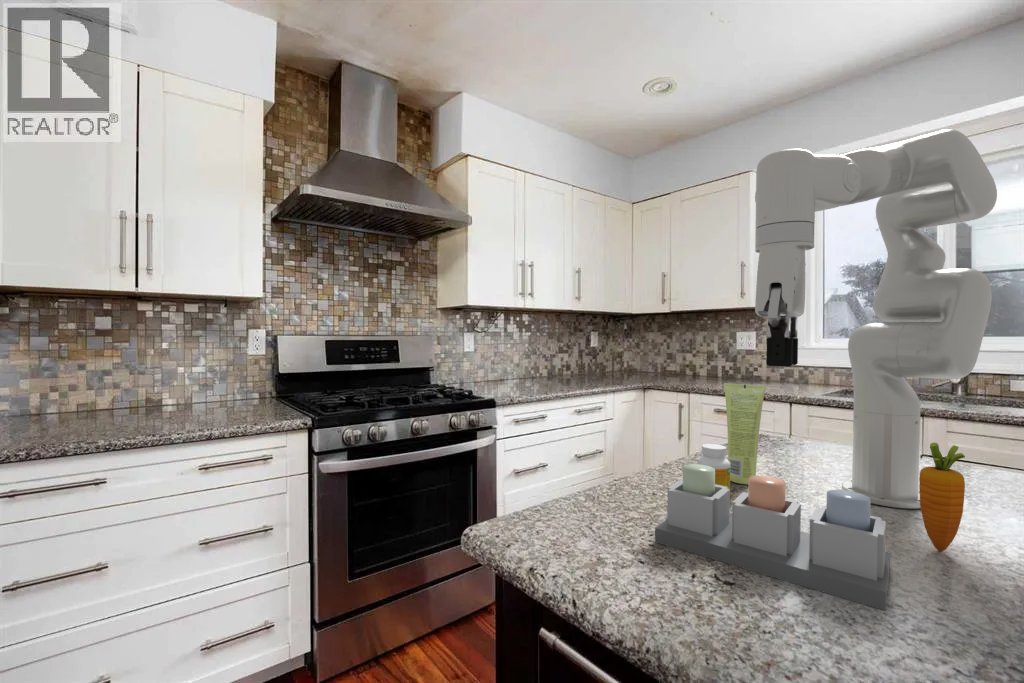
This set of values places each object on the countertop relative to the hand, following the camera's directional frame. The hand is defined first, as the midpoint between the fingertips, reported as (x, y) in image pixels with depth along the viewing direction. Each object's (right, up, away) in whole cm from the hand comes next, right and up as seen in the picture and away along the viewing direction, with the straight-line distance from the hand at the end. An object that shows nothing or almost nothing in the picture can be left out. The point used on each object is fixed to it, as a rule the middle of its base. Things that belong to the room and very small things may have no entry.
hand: (782, 364), depth 71 cm
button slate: (+1, -21, -12) cm, 24 cm away
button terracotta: (-5, -20, -6) cm, 22 cm away
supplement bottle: (-4, -25, +14) cm, 29 cm away
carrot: (+19, -26, -5) cm, 32 cm away
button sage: (-12, -20, 0) cm, 24 cm away
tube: (+6, -25, +25) cm, 36 cm away
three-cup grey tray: (-5, -25, -6) cm, 27 cm away
